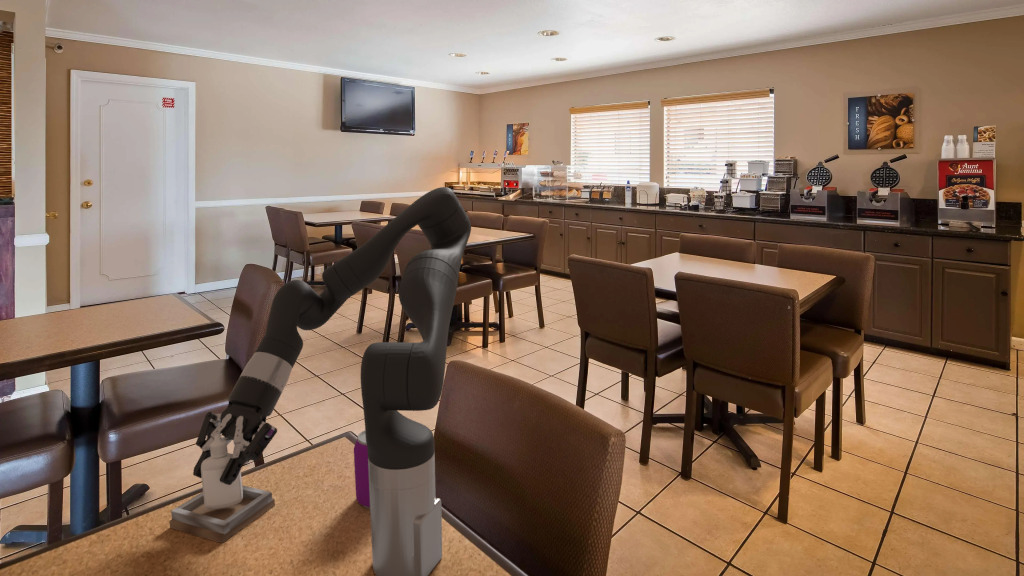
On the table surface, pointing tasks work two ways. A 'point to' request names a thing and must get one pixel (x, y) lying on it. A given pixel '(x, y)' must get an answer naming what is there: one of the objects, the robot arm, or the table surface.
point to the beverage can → (361, 470)
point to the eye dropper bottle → (211, 472)
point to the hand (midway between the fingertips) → (211, 479)
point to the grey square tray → (220, 515)
